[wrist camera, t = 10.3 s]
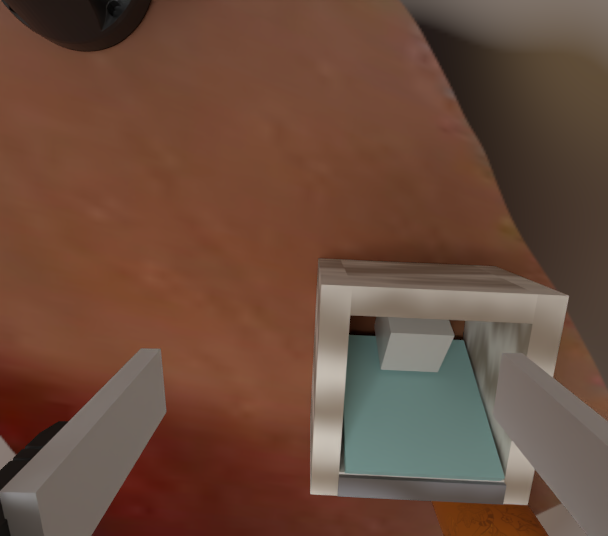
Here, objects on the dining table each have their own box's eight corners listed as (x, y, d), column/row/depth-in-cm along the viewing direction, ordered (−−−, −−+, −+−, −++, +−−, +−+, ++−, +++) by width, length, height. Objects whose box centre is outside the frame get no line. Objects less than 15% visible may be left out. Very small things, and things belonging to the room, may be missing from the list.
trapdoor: (340, 339, 42) (341, 334, 42) (460, 344, 42) (463, 340, 41) (344, 473, 33) (345, 470, 32) (500, 480, 33) (505, 478, 32)
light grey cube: (374, 325, 43) (382, 288, 39) (425, 328, 43) (438, 291, 39) (380, 369, 38) (390, 332, 34) (437, 372, 38) (454, 335, 34)
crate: (318, 258, 41) (321, 285, 29) (495, 266, 41) (572, 297, 29) (310, 415, 45) (310, 497, 33) (471, 423, 45) (530, 508, 33)
